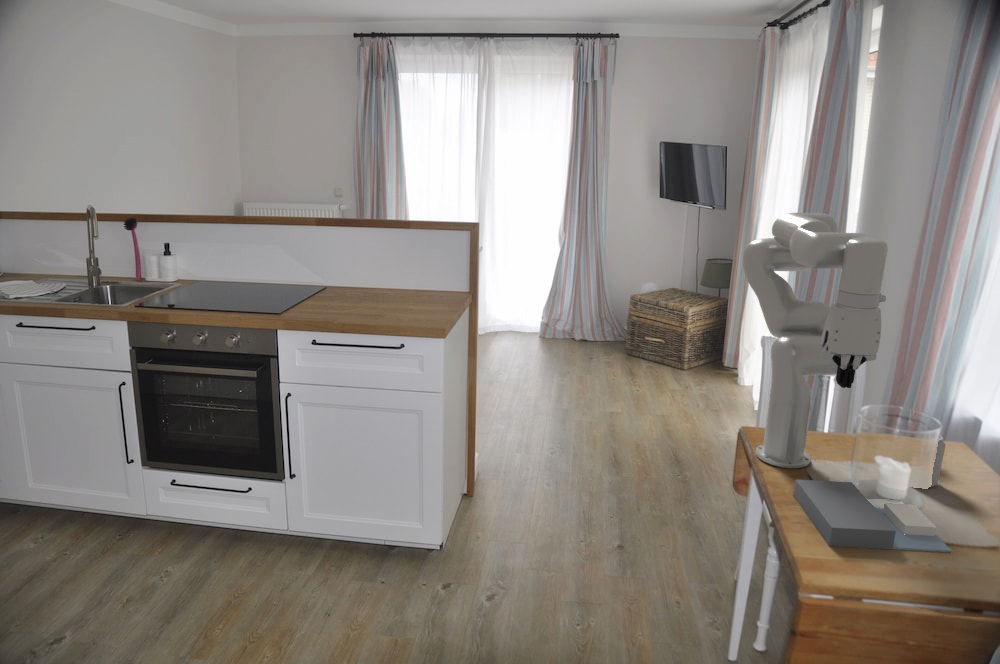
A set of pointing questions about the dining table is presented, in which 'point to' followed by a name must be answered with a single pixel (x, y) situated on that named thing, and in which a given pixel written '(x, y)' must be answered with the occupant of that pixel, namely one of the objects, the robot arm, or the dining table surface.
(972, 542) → the dining table surface
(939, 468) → the can
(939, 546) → the mat
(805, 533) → the dining table surface
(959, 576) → the dining table surface
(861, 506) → the panel
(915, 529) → the tile
